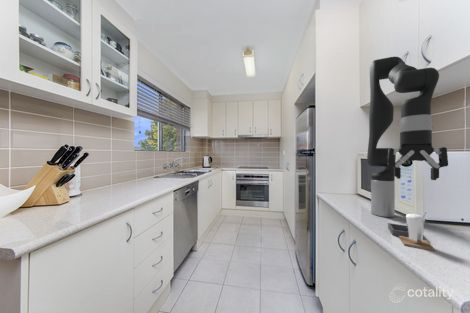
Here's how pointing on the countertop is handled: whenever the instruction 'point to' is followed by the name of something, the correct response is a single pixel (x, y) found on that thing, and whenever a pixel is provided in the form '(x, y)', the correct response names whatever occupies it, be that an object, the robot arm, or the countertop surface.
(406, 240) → the pad
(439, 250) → the countertop surface
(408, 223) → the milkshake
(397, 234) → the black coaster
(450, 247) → the countertop surface
